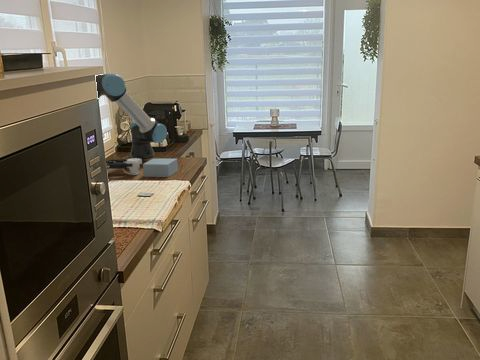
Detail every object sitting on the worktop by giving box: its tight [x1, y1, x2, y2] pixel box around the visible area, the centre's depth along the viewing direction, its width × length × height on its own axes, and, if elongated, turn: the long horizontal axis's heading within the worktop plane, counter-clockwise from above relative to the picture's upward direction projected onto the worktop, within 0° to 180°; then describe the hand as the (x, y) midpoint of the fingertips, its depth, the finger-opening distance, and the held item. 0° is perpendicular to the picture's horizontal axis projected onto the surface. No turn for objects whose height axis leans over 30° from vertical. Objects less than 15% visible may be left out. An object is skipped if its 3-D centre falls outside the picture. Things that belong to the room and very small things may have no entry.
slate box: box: [142, 158, 179, 178], centre depth 246 cm, size 15×14×7 cm
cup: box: [122, 158, 141, 176], centre depth 246 cm, size 7×10×8 cm
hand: (140, 163), depth 245 cm, fingers closed on cup, 7 cm apart
